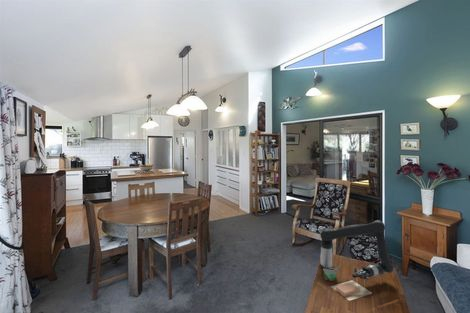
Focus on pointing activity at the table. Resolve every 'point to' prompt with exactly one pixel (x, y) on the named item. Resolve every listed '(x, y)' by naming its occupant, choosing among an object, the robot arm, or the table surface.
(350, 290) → the tile
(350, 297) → the board
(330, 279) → the food container
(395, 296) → the table surface
